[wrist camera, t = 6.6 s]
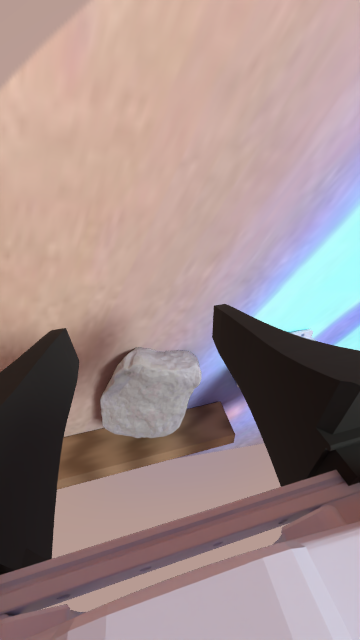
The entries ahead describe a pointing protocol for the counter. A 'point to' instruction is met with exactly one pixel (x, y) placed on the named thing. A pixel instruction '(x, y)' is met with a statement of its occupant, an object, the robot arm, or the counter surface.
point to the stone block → (149, 392)
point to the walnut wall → (141, 446)
